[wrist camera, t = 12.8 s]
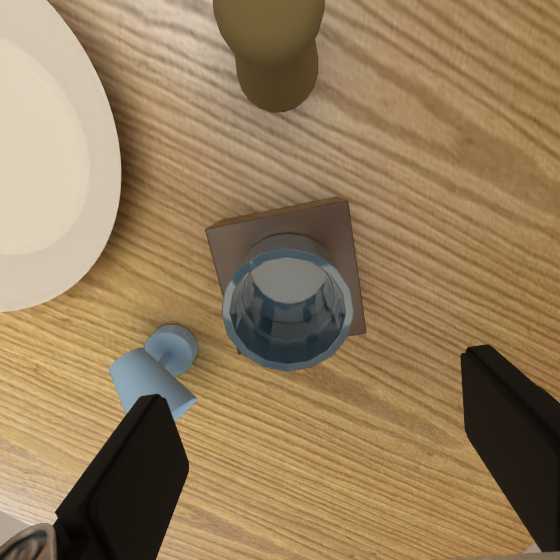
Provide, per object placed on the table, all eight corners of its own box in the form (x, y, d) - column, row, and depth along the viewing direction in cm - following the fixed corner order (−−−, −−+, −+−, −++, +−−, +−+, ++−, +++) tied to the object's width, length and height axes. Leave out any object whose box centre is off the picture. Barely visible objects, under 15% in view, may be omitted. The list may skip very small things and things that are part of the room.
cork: (333, 44, 24) (366, -62, 13) (295, 127, 25) (298, 91, 15) (257, 1, 23) (228, -146, 13) (223, 89, 25) (173, 23, 14)
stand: (338, 196, 27) (348, 200, 22) (354, 308, 30) (366, 333, 25) (219, 220, 28) (204, 229, 23) (246, 327, 31) (238, 354, 26)
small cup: (331, 223, 23) (343, 237, 17) (346, 321, 25) (361, 360, 19) (226, 244, 23) (207, 263, 18) (250, 337, 25) (239, 379, 20)
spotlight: (222, 354, 32) (164, 308, 30) (191, 431, 22) (106, 368, 21) (190, 386, 33) (133, 343, 31) (148, 472, 23) (64, 415, 22)
